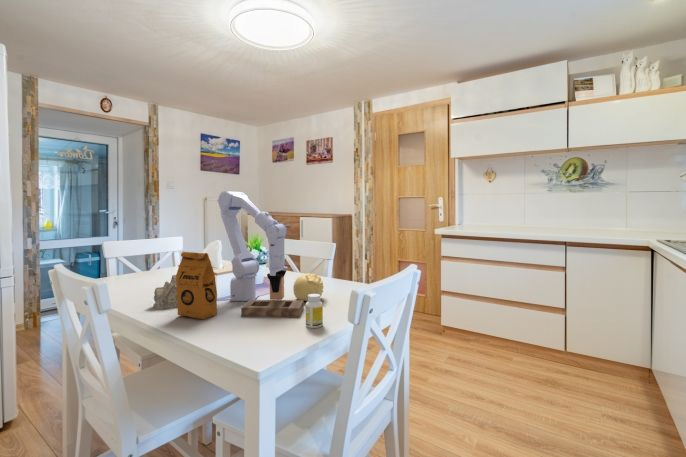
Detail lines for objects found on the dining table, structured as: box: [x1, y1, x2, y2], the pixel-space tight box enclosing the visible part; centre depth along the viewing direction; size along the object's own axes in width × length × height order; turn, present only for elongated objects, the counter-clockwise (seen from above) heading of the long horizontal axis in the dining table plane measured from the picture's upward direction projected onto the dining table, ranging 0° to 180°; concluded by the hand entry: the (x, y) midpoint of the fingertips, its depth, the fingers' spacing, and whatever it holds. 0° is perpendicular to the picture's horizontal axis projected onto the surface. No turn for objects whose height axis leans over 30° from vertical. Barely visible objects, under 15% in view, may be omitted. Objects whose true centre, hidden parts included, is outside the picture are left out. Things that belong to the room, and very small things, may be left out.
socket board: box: [240, 299, 305, 318], centre depth 126 cm, size 20×10×3 cm, turn 88°
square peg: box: [269, 275, 285, 300], centre depth 136 cm, size 4×4×8 cm
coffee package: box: [175, 251, 218, 320], centre depth 121 cm, size 10×12×22 cm
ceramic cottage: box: [153, 274, 178, 310], centre depth 137 cm, size 16×16×15 cm
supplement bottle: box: [305, 294, 324, 329], centre depth 112 cm, size 5×5×10 cm
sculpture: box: [292, 272, 324, 302], centre depth 142 cm, size 12×12×11 cm
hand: (277, 290), depth 136 cm, fingers closed on square peg, 4 cm apart
